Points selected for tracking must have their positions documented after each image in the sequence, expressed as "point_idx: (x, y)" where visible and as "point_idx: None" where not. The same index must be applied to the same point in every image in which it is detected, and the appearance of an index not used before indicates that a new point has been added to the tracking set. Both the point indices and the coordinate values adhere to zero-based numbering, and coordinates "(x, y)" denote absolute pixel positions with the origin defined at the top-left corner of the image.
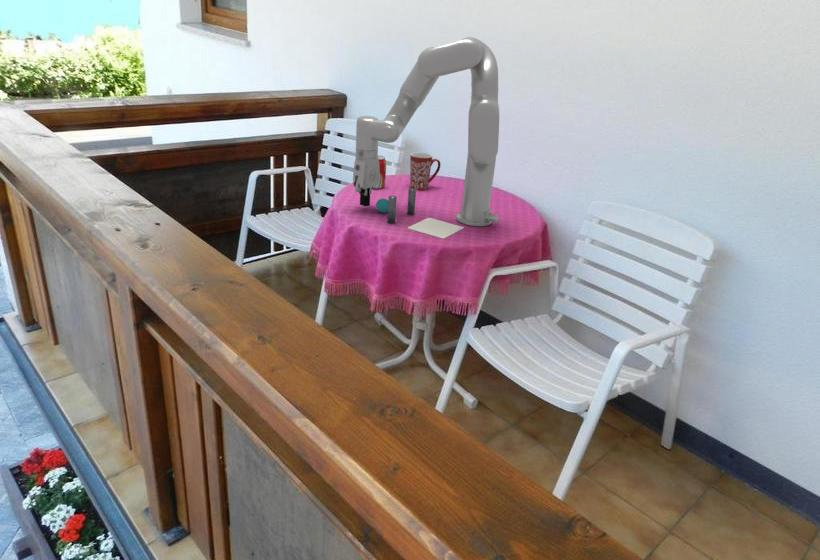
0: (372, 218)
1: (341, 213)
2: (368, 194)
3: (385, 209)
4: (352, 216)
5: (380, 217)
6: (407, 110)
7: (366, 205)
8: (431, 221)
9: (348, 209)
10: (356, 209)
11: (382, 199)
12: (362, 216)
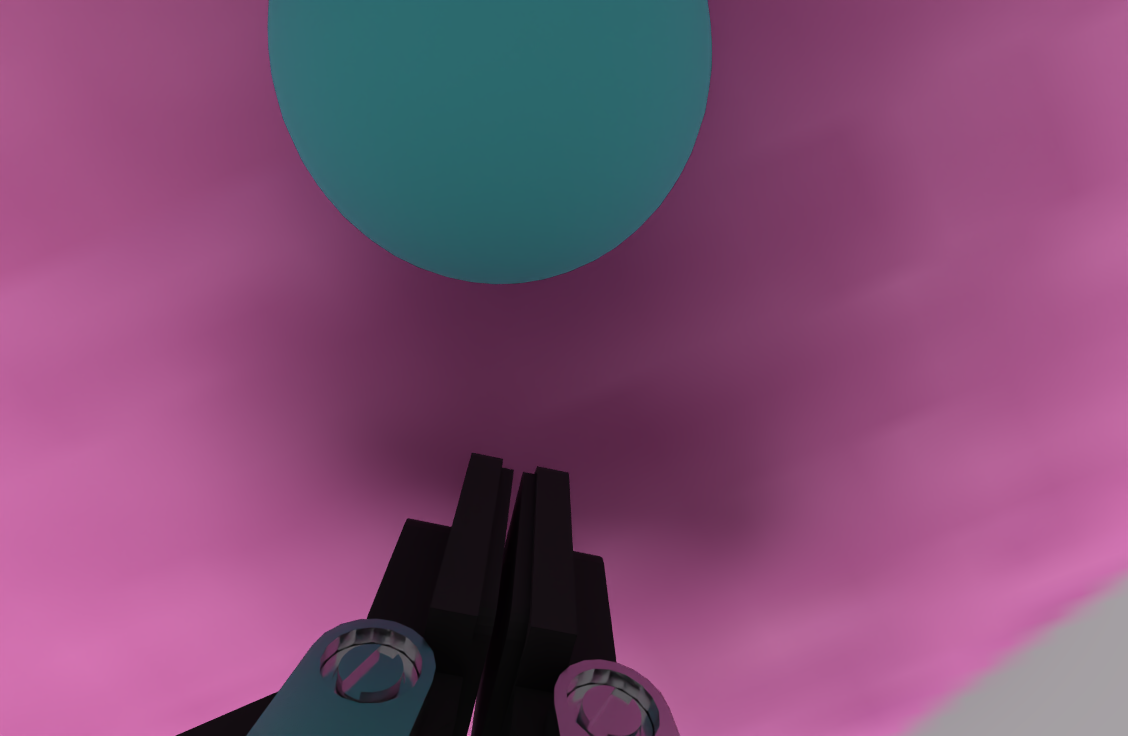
0: (979, 146)
1: (913, 698)
2: (421, 662)
3: None
4: (996, 511)
5: (851, 8)
6: None
7: (566, 490)
8: None
9: (677, 691)
10: (610, 596)
11: (555, 56)
12: (932, 367)
